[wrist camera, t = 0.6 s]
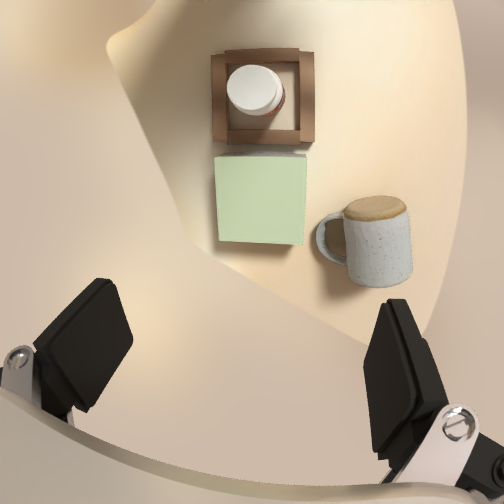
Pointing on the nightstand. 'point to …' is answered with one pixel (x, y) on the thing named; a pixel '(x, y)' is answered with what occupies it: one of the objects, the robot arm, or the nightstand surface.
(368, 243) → the ceramic mug
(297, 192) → the green square block
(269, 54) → the base
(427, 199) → the nightstand surface
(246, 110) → the pill bottle
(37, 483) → the robot arm
